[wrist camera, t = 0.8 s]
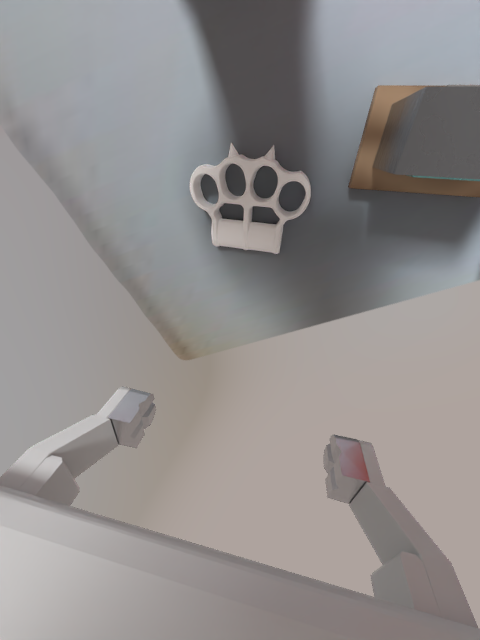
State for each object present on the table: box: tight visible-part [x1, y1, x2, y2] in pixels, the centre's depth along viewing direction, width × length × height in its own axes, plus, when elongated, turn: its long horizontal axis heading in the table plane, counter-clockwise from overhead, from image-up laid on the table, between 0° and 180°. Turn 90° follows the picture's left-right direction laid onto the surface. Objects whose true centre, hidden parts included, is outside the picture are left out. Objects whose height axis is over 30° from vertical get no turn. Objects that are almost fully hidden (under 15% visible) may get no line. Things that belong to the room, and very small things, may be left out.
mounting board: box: [348, 86, 480, 197], centre depth 28 cm, size 10×16×2 cm, turn 88°
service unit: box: [372, 85, 480, 181], centre depth 23 cm, size 7×12×10 cm, turn 88°
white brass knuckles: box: [190, 143, 311, 254], centre depth 36 cm, size 3×18×15 cm
